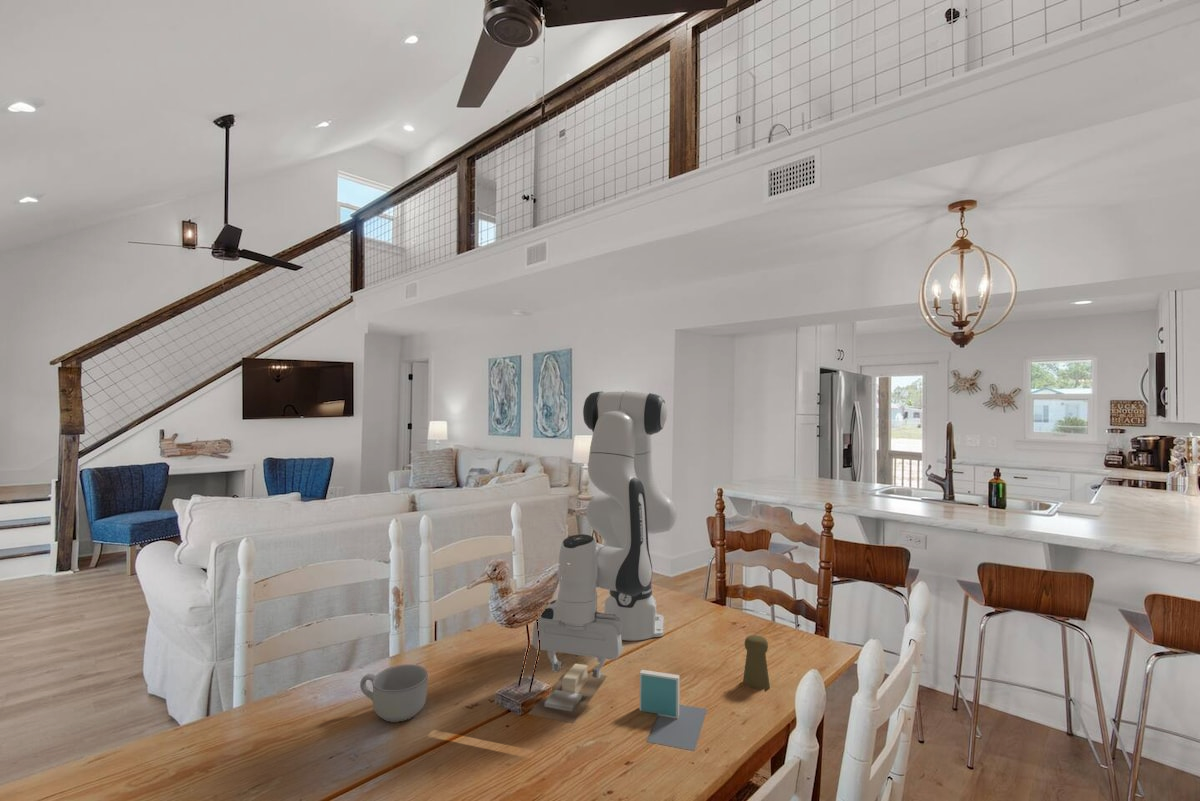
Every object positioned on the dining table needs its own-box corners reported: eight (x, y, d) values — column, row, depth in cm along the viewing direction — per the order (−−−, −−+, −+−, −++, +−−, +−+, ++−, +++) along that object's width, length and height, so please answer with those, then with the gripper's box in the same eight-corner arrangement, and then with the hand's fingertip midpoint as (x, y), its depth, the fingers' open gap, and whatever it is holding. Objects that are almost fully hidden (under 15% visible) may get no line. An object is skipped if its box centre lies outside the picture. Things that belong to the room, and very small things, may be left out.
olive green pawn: (770, 692, 131) (771, 643, 131) (743, 690, 132) (743, 640, 132) (768, 680, 137) (768, 633, 137) (742, 678, 138) (742, 631, 138)
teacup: (437, 707, 123) (438, 668, 123) (404, 733, 113) (405, 691, 113) (383, 695, 128) (383, 658, 128) (346, 720, 117) (347, 680, 118)
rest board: (567, 673, 139) (567, 669, 139) (607, 680, 136) (607, 675, 136) (527, 719, 118) (527, 714, 118) (573, 728, 115) (573, 722, 115)
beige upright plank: (569, 677, 135) (569, 662, 135) (593, 681, 133) (593, 666, 133) (544, 706, 122) (544, 689, 122) (571, 711, 120) (571, 694, 120)
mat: (623, 698, 128) (623, 695, 128) (706, 712, 122) (706, 709, 122) (600, 736, 112) (600, 733, 112) (694, 754, 107) (694, 750, 107)
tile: (641, 708, 122) (641, 669, 122) (679, 714, 120) (679, 675, 120) (639, 712, 120) (639, 673, 121) (677, 719, 118) (678, 678, 118)
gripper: (626, 610, 130) (625, 674, 129) (541, 601, 136) (540, 662, 136) (618, 619, 124) (617, 686, 123) (529, 609, 130) (528, 672, 130)
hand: (576, 673), depth 130 cm, fingers open, 8 cm apart
